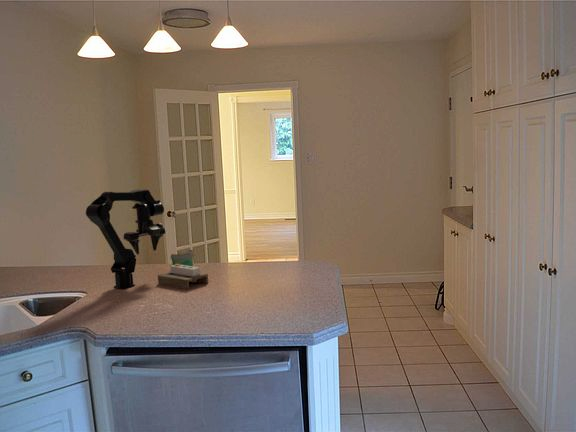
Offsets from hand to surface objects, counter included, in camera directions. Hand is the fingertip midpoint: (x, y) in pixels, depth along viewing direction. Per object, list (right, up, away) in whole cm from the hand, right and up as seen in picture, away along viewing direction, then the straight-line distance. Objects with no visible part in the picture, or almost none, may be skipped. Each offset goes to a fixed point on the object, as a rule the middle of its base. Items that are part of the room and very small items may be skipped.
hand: (146, 252), depth 232 cm
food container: (+16, -11, +8) cm, 21 cm away
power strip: (+19, -11, -8) cm, 24 cm away
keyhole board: (+18, -13, -9) cm, 24 cm away
